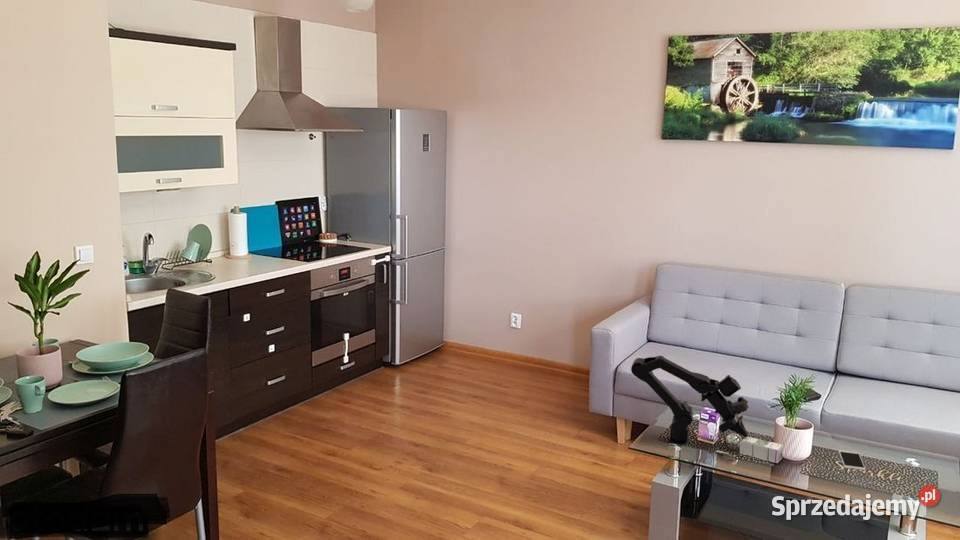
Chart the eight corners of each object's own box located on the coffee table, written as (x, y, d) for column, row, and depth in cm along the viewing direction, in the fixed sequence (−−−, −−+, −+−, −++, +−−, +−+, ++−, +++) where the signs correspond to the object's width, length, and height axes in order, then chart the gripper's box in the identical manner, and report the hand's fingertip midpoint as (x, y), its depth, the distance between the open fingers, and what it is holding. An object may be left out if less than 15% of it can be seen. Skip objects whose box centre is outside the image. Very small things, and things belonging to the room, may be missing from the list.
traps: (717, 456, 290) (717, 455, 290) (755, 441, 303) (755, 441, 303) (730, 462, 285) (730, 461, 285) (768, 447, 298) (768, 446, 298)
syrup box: (739, 454, 292) (778, 464, 283) (740, 440, 291) (779, 450, 282) (744, 449, 296) (782, 458, 288) (745, 434, 295) (783, 444, 286)
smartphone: (858, 453, 293) (858, 451, 293) (865, 471, 279) (865, 469, 279) (838, 451, 295) (838, 449, 295) (844, 469, 281) (844, 466, 281)
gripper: (729, 400, 284) (758, 434, 280) (741, 385, 299) (768, 417, 296) (707, 415, 289) (734, 449, 286) (720, 400, 305) (746, 431, 302)
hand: (747, 436), depth 292 cm, fingers closed
